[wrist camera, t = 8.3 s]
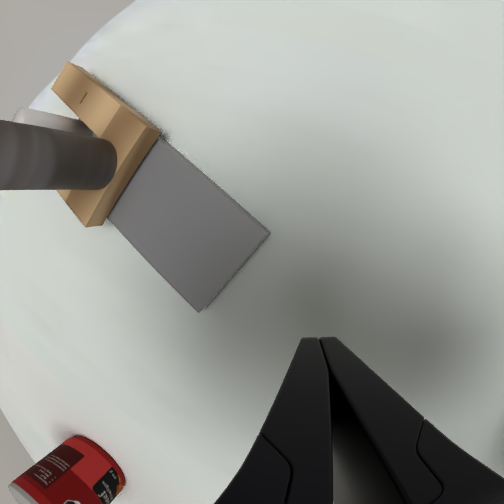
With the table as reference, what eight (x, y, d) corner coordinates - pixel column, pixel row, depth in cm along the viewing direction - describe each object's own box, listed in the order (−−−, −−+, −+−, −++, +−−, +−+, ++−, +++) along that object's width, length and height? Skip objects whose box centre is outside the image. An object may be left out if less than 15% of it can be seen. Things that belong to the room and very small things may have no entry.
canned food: (119, 494, 26) (67, 549, 15) (67, 450, 27) (9, 496, 17) (135, 473, 24) (73, 541, 13) (75, 422, 25) (4, 475, 15)
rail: (270, 232, 17) (225, 249, 10) (205, 307, 19) (140, 355, 12) (106, 91, 19) (34, 65, 12) (66, 159, 20) (-7, 152, 14)
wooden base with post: (161, 132, 17) (3, 84, 7) (102, 225, 19) (-47, 245, 8) (82, 67, 18) (-32, 27, 8) (38, 145, 20) (-75, 136, 10)
